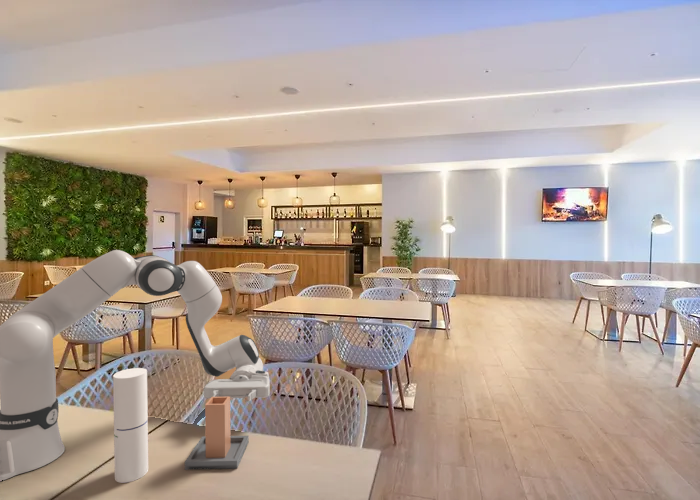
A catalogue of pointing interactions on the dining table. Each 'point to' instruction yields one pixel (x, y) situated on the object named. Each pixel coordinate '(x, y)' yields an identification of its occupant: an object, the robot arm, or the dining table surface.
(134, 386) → the cylindrical container
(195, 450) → the tray
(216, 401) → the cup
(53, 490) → the dining table surface
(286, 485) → the dining table surface
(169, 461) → the dining table surface
